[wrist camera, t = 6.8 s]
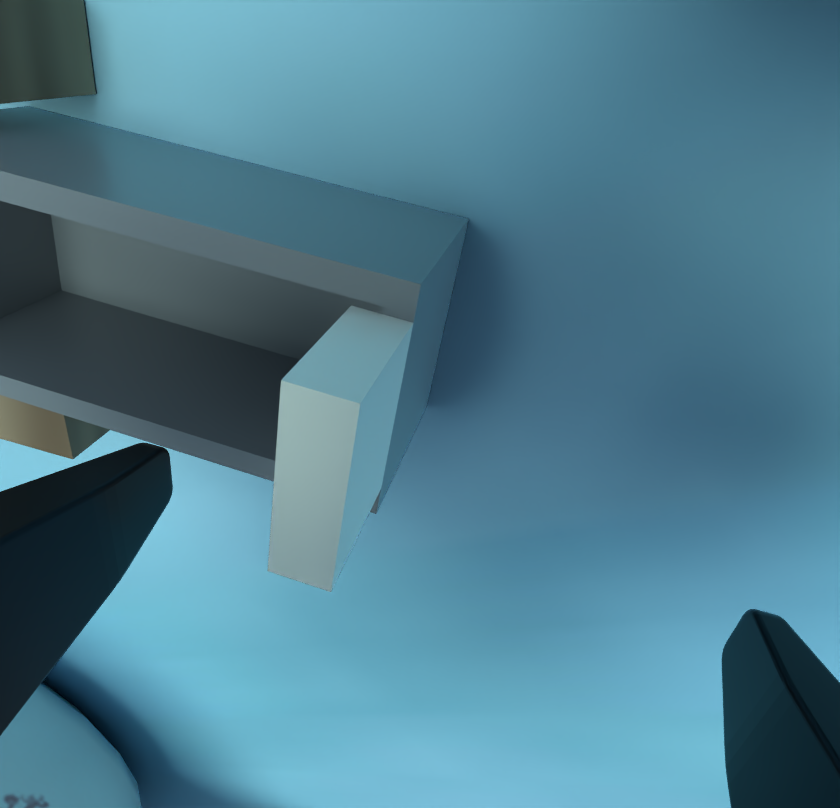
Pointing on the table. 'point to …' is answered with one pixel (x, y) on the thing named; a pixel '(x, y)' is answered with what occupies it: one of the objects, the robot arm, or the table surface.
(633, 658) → the table surface
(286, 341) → the caddy
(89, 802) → the chamber pot
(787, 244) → the table surface
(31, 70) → the dock
